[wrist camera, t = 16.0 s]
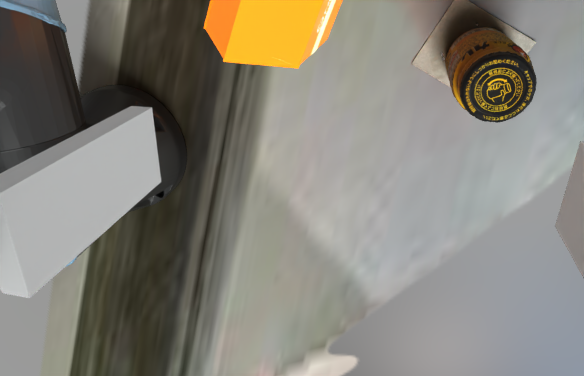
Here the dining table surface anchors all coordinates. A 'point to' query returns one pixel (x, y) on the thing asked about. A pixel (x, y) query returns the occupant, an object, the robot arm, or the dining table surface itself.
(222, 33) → the orange juice
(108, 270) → the dining table surface
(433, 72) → the condiment
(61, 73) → the robot arm
